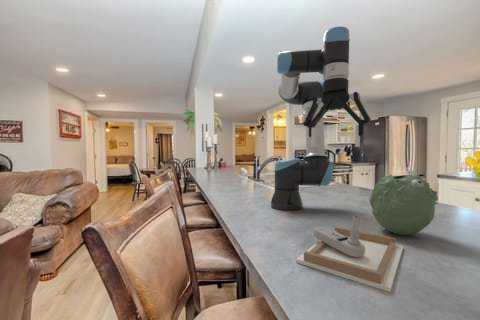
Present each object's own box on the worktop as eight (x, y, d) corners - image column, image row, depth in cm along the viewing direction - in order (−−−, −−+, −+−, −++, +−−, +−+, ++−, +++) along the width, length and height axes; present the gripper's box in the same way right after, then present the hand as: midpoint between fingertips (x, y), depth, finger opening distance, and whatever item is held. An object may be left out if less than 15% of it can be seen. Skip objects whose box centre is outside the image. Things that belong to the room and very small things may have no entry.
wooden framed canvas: (330, 233, 80) (330, 225, 80) (403, 249, 67) (403, 239, 67) (296, 262, 60) (296, 251, 60) (390, 292, 47) (390, 278, 47)
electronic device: (325, 202, 73) (373, 219, 60) (321, 233, 74) (368, 256, 61) (312, 204, 70) (360, 221, 57) (309, 236, 71) (355, 260, 58)
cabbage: (376, 222, 92) (377, 170, 91) (439, 235, 78) (442, 174, 77) (361, 232, 81) (362, 173, 80) (432, 249, 67) (434, 178, 66)
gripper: (294, 84, 81) (293, 147, 82) (378, 68, 66) (376, 146, 67) (303, 88, 87) (302, 147, 88) (382, 75, 71) (380, 146, 72)
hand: (334, 147), depth 77 cm, fingers open, 13 cm apart
